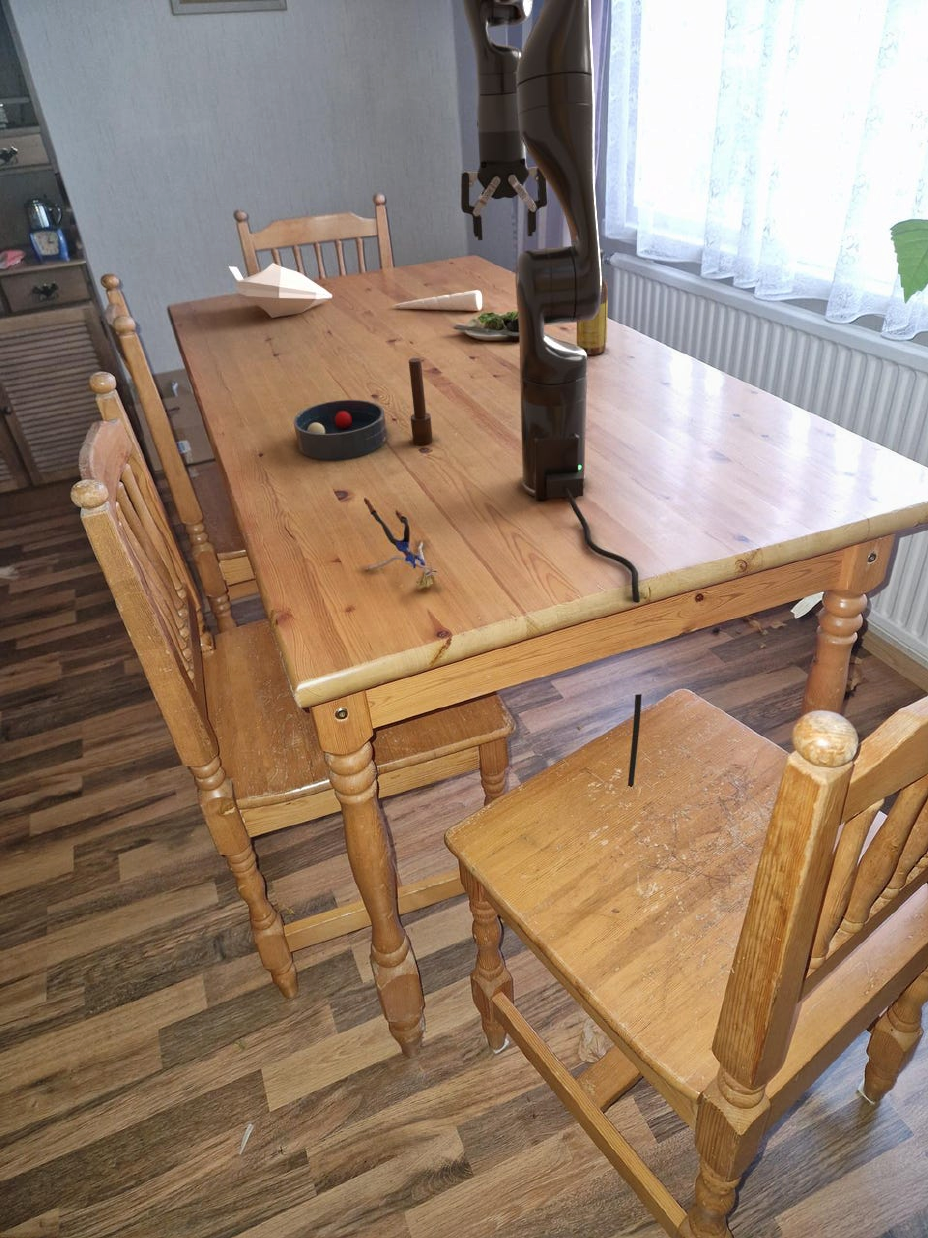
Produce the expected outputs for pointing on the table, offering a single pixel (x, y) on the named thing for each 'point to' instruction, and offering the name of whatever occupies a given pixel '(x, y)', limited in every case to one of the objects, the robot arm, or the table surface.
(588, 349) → the sauce bottle
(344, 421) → the red ball
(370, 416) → the bowl
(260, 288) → the white faceted piece
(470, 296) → the unicorn horn
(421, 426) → the brown stepped wooden peg
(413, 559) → the figurine
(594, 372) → the table surface
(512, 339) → the salad plate
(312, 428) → the cream ball
